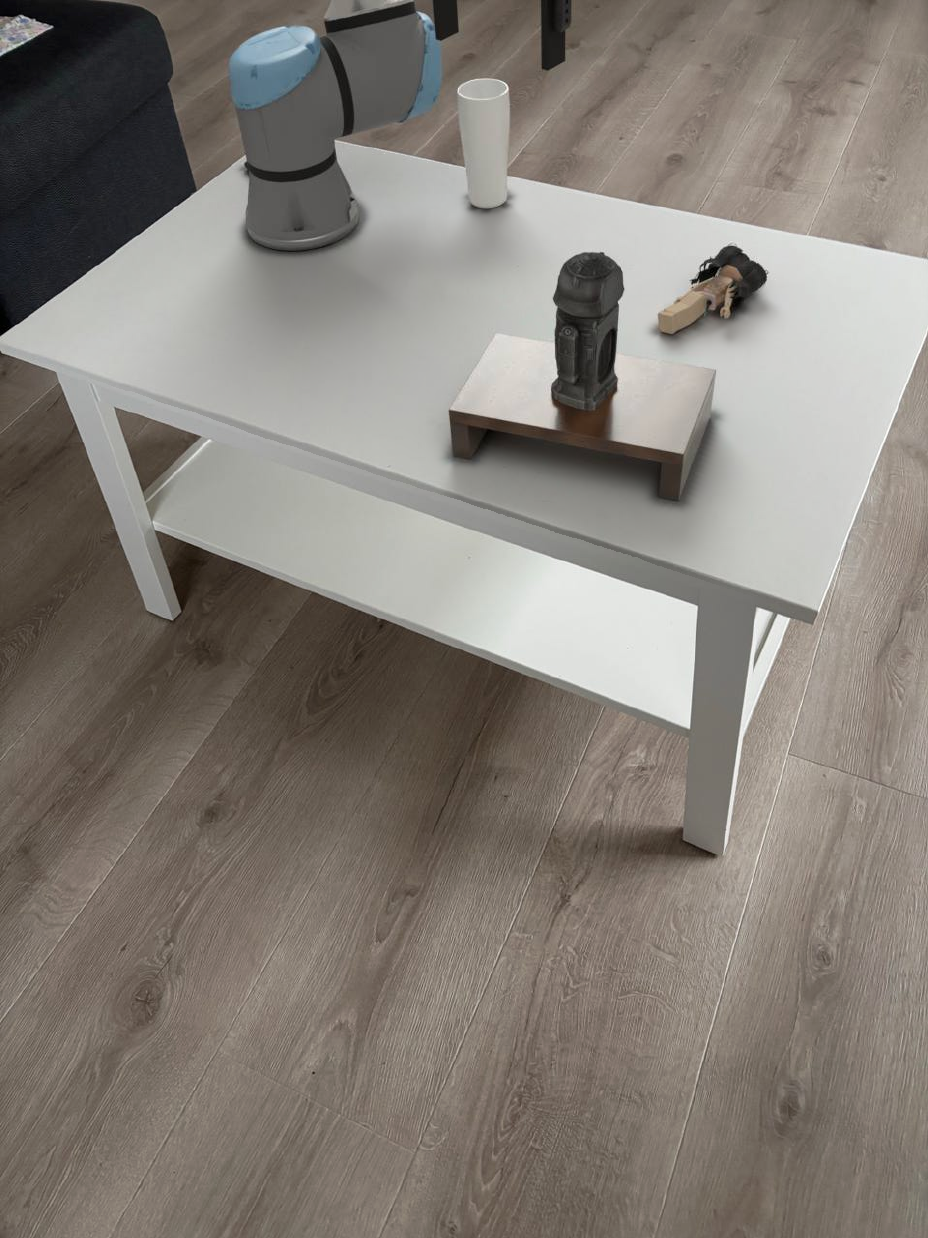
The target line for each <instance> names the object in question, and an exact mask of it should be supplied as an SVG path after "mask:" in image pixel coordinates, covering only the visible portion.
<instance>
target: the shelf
mask: <svg viewBox="0 0 928 1238" xmlns="http://www.w3.org/2000/svg"><path fill="white" fill-rule="evenodd" d="M614 370H615V374H616V376H617V377H618V383H617V386H616V387H615V388H614V390H613V391H612V392H611V393H610V394H609V395H608V396H606V398H605V400H604V401H603V402H602V403H601V404H600V405H599V406H598V408H597V409H596V410H591V411H587V410H581V409H577V408H574V407H571V406H568V405H565V404H562V403H560V402H559V401H557V400H556V399H554V398H553V395H552V392H551V384H552V383H553V382H554V381H555V380H556V379H557V378H558V375H557V371H558V370H557V365H556V359H555V342H551V341H544V340H540V339H539V340H538V339H533V338H528V337H521V336H515V335H509V334H503V333H498V332H497V333H494V336H493V337H492V339H491V341H490V342H489V344H488V346H487V347H486V349H485V350H484V352H483V353H482V355H481V357H480V359H478V362H477V363H476V365H475V366H474V368H473V369H472V372H470V375H469V376H468V378H467V379H466V381H465V383H464V384H463V386H462V388H461V389H460V391H459V392H458V394H457V395H456V397H455V399H454V400H453V402H452V403H451V405H450V407H449V408H448V419H449V428H450V439H451V453H452V457H457V458H461V459H466V460H471V459H472V457H473V455H474V453H475V452H476V450H477V449H478V447H479V445H480V443H481V441H482V439H484V436H485V434H486V432H487V431H488V430H492V431H497V432H502V433H508V434H512V435H518V436H523V437H527V438H533V439H537V440H543V441H548V442H553V443H559V444H563V445H569V446H574V447H581V448H586V449H589V450H596V451H601V452H606V453H610V454H616V455H621V456H626V457H632V458H636V459H642V460H646V461H647V460H648V461H651V462H659V463H661V470H660V480H659V481H660V482H659V490H658V491H659V492H658V498H659V499H665V500H669V501H672V502H673V501H674V502H679V501H680V499H681V496H682V493H683V491H684V488H685V486H686V483H687V480H688V478H689V475H690V472H691V470H692V467H693V464H694V461H695V458H696V456H697V453H698V450H699V448H700V445H701V443H702V440H703V438H704V435H705V432H706V429H707V426H708V424H709V421H710V419H711V415H712V414H711V412H712V406H713V399H714V391H715V382H716V376H717V369H714V368H709V367H708V368H707V367H701V366H695V365H690V364H683V363H678V362H671V361H665V360H660V359H653V358H647V357H641V356H635V355H630V354H624V353H618V352H616V359H615V365H614Z"/></svg>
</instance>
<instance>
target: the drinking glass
mask: <svg viewBox="0 0 928 1238" xmlns="http://www.w3.org/2000/svg"><path fill="white" fill-rule="evenodd" d="M456 96H457V97H456V99H457V100H456V101H457V102H456V103H457V119H458V129H459V137H460V143H461V149H462V155H463V162H464V169H465V176H466V177H465V178H466V182H467V183H466V184H467V195H468V196H467V197H468V201H469V202H470V204H471V205H472V206H474V207H476V208H479V209H494V208H497V207H500V206H502V205H503V204H505V202H506V201H507V199H508V173H509V172H508V171H509V154H510V153H509V152H510V151H509V149H510V136H511V135H510V133H511V99H510V88H509V85H508V84H507V83H506V82H504V81H503V80H500V79H496V78H491V77H490V78H484V77H483V78H475V79H471V80H468V81H466V82H464V83H462V84H461V85H459V86H458V88H457V90H456Z"/></svg>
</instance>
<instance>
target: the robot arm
mask: <svg viewBox="0 0 928 1238" xmlns="http://www.w3.org/2000/svg"><path fill="white" fill-rule="evenodd" d="M329 3H330V4H329V6H328V8H327V10H326V12H325V13H324V16H323V24H324V28H325V33H326V35H324V36H318V34H317V32H316V31H315V30H314V29H313V28H310V27H308V26H305V25H291V26H289V27H288V26H283V25H282V26H280V27H279V26H277V27H274V28H271V29H267V30H265V31H262V32H260V33H257V34H255V35H254V36H251V37H250V38H248V39H246V40H245V41H244V42H242V43H241V44H240V45H239V46H238V47H237V49H236V50H235V51H234V52H233V53H232V55H231V56H230V59H229V61H228V76H229V84H230V94H231V101H232V103H233V105H234V108H235V113H236V117H237V122H238V127H239V131H240V136H241V140H242V145H243V150H244V155H245V159H246V161H245V162H244V164H243V165H244V168H246V169H247V170H248V173H249V178H248V188H247V189H248V190H247V205H246V209H245V223H246V227H247V231H248V234H249V236H250V238H251V239H252V240H253V241H254V242H256V243H257V244H259V245H261V246H263V247H266V248H269V249H274V250H278V251H287V252H288V251H290V252H293V251H306V250H312V249H317V248H322V247H324V246H327V245H330V244H333V243H335V242H337V241H339V240H341V239H343V238H345V237H346V236H348V235H349V234H350V233H351V232H352V231H353V230H354V229H355V228H356V226H357V225H358V222H359V220H360V213H359V206H358V202H357V201H358V200H357V199H356V196H355V193H354V192H353V190H352V187H351V186H350V183H349V182H348V179H347V177H346V175H345V173H344V172H343V170H342V168H341V166H340V164H339V161H338V157H337V151H336V142H335V140H337V139H340V138H344V137H347V136H351V135H356V134H359V133H362V132H366V131H370V130H373V129H377V128H381V127H386V126H388V125H389V126H390V125H392V124H397V123H398V124H399V123H400V124H403V123H406V122H408V120H410V119H414V118H417V117H420V116H422V115H425V114H427V113H428V112H430V111H431V110H432V108H433V107H434V106H435V105H436V103H437V101H438V98H439V93H440V92H441V87H442V86H441V85H442V78H443V60H442V51H441V50H442V49H441V44H440V42H442V41H444V40H447V39H448V38H450V37H452V36H454V35H456V34H458V33H460V28H459V27H460V26H459V12H458V11H459V10H458V0H432V10H433V20H432V18H431V17H430V16H428V15H427V13H423V12H420V11H417V9H416V5H415V0H330V2H329ZM572 3H573V2H572V0H540V41H541V42H540V44H541V45H540V46H541V47H540V49H541V51H540V53H541V56H540V59H541V60H540V61H541V64H540V65H541V70H544V71H547V72H548V71H550V70H552V69H554V68H556V67H558V66H559V65H561V64H563V63H565V62H566V30H568V29H569V28H571V25H572V5H573V4H572Z"/></svg>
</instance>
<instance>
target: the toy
mask: <svg viewBox="0 0 928 1238" xmlns="http://www.w3.org/2000/svg"><path fill="white" fill-rule="evenodd" d="M556 281H557V283H556V288H555V291H554V294H553V296H552V301H553V303H554V304H555V306H556V311H555V327H554V332H553V333H554V343H555V359H556V365H557V370H558V371H557V375H558V378H557V379H556V380H555V381H554V382H553V383H552V384H551V392H552V395H553V398H554V399H556V400H557V401H559V402H560V403H562V404H565V405H568V406H571V407H574V408H577V409H581V410H587V411H591V410H596V409H597V408H598V406H599V405H600V404H601V403H602V402H603V401H604V400H605V398H606V396H608V395H609V394H610V393H611V392H612V391H613V390H614V388H615V387H616V386H617V383H618V377H617V376H616V374H615V370H614V365H615V359H616V353H617V348H618V347H617V345H618V332H619V313H620V304H619V301H620V300H621V298H622V297H623V295H624V292H625V285H624V271H623V269H622V267H621V266H620V265H619V264H618V263H617V262H616V261H615V260H614V259H613V258H611V257H610V256H608V255H606V254H605V252H603V251H600V252H598V251H597V252H596V251H595V252H594V251H589V252H587V251H586V252H585V251H584V252H581V253H578V254H575V255H573V256H572V257H570V258H569V259H567V260H566V261H565V262H564V263H563V264H562V266H561V268H560V269H559V274H558V276H557V280H556Z"/></svg>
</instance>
